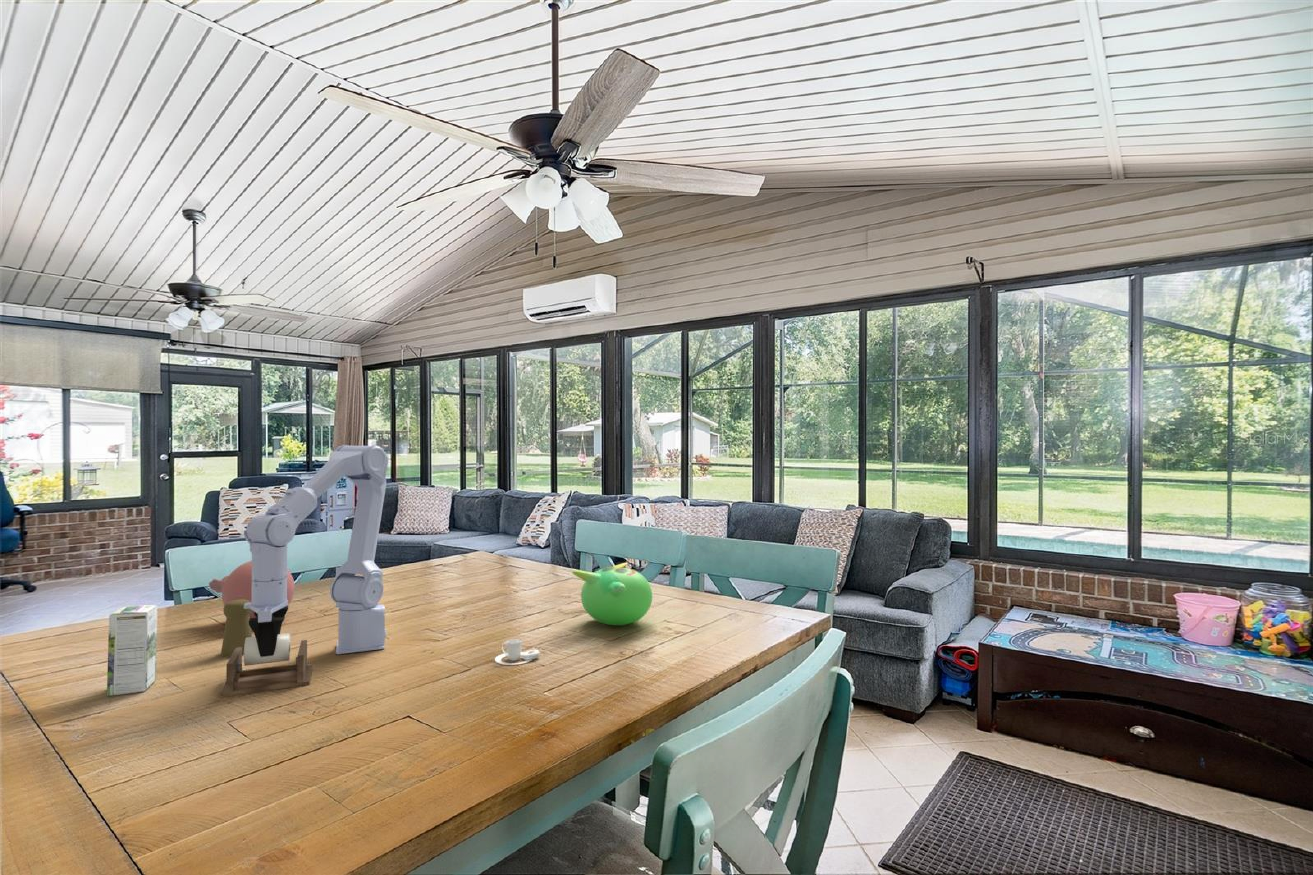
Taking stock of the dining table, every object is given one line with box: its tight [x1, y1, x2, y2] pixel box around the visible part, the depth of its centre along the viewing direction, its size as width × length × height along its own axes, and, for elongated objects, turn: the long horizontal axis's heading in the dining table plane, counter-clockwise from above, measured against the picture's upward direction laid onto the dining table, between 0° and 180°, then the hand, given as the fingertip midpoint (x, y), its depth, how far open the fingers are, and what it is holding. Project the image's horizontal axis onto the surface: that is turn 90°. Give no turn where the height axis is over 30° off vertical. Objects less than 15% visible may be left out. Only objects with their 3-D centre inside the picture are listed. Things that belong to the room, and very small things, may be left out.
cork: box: [220, 599, 253, 658], centre depth 139 cm, size 6×6×11 cm
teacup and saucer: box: [494, 638, 541, 666], centre depth 135 cm, size 9×8×4 cm
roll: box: [243, 632, 291, 667], centre depth 122 cm, size 7×5×5 cm
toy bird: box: [571, 562, 653, 626], centre depth 161 cm, size 18×17×15 cm
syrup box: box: [106, 604, 159, 697], centre depth 118 cm, size 6×6×14 cm
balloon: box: [208, 560, 296, 618], centre depth 162 cm, size 15×20×15 cm
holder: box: [219, 639, 314, 698], centre depth 122 cm, size 14×10×6 cm
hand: (268, 651), depth 122 cm, fingers closed on roll, 5 cm apart
